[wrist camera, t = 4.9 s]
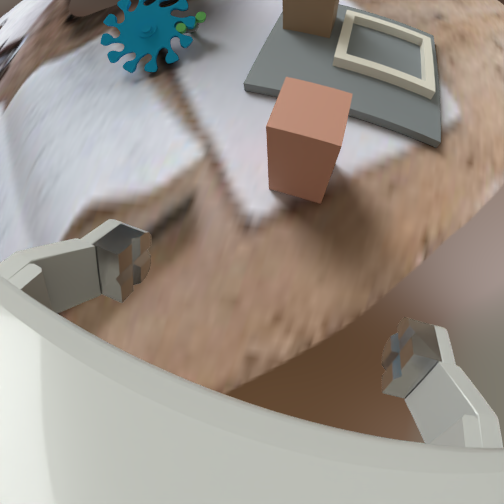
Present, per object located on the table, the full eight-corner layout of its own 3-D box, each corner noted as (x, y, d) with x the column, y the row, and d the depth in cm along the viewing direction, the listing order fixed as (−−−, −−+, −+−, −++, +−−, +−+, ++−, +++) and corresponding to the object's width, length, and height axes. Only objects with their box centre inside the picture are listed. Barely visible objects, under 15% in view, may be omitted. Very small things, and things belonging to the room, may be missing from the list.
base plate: (244, 90, 26) (236, 32, 19) (291, 1, 29) (292, -43, 22) (436, 147, 23) (471, 102, 16) (430, 41, 27) (447, 1, 20)
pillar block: (268, 188, 23) (266, 126, 15) (283, 146, 24) (286, 76, 16) (320, 203, 23) (341, 146, 15) (332, 159, 23) (352, 93, 16)
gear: (103, 83, 25) (96, -1, 20) (116, 83, 30) (110, 10, 25) (210, 62, 27) (203, -22, 22) (208, 66, 32) (201, -7, 27)
